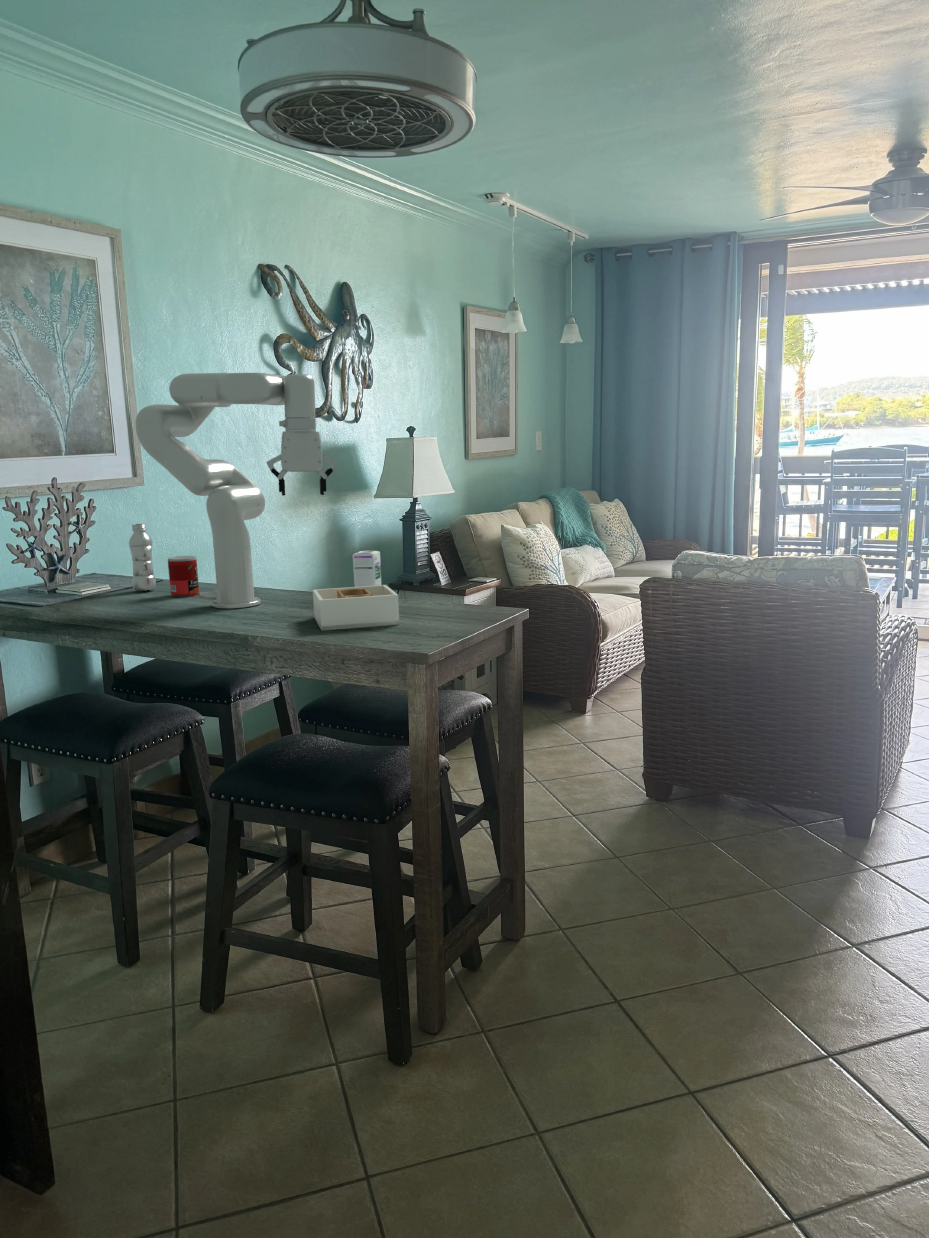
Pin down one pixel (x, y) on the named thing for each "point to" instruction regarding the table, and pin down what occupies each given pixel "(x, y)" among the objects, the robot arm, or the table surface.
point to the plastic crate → (356, 608)
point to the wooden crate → (353, 593)
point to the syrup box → (367, 568)
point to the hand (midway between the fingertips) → (302, 495)
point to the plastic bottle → (142, 559)
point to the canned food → (183, 576)
